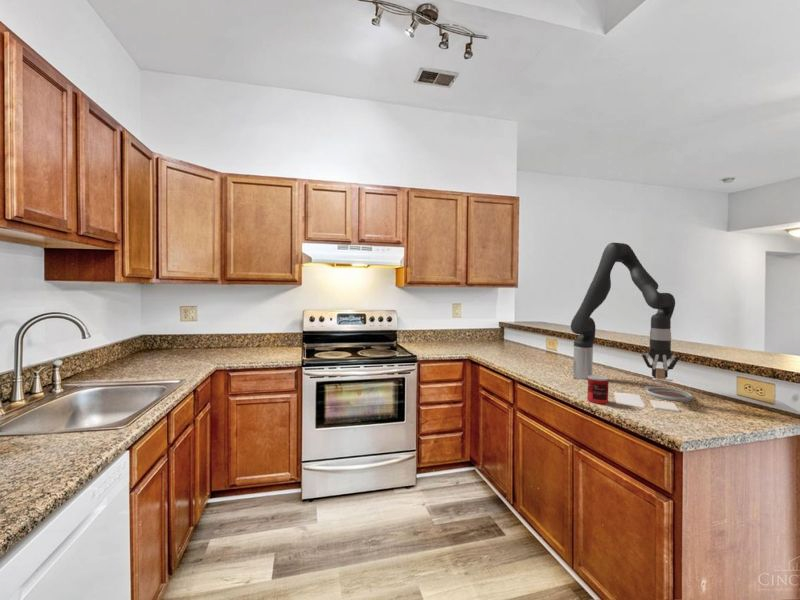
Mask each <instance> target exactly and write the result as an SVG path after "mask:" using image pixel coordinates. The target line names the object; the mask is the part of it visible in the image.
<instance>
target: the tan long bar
mask: <svg viewBox="0 0 800 600" xmlns="http://www.w3.org/2000/svg"><path fill="white" fill-rule="evenodd" d="M651 380H655V381H664V382H674V380H673V379H670V378H669V379H668V378H666V379H665V369H664V368H662V367H660V368H658V367H656V378H654V376H652V379H651Z"/></svg>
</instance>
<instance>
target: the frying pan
mask: <svg viewBox="0 0 800 600" xmlns="http://www.w3.org/2000/svg"><path fill="white" fill-rule="evenodd" d="M637 385H638V386H639V387H638V388H639V389H641V388H645V392H646V393H647V395H649V396H650V397H654V398H656V399H661V400H664V401H665V400H666V401H669V402H670V401H671V402H672V401H673V402H682V403H688V402H689V401H690V402H691V401H692V399H693V398H694V396H693V394H691V393H690V392H688V391H685V390H680V389H676V388H669V387H663V386H662V387H660V386H659V387H658V386H651V385H644V384H642V383H641V382H639V383H638V384H637Z"/></svg>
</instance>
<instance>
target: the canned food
mask: <svg viewBox="0 0 800 600" xmlns="http://www.w3.org/2000/svg"><path fill="white" fill-rule="evenodd" d="M587 401H588V402H590V403H592V404H595V405H607V404H608V403H609V378H608V376H604V375H599V374H592V375H589V376H588V380H587Z"/></svg>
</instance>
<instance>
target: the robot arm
mask: <svg viewBox="0 0 800 600" xmlns="http://www.w3.org/2000/svg"><path fill="white" fill-rule="evenodd" d="M616 263H621V264H622V265H624V266H625V267H626V269H627V270H628V271H629V274H630V278H631V280H632V282H633V284H634V285H635V286H636V287H637V288H638V290H639V291H640V293H641V294H642V297H643V299H644V300H645V303H646V304H647V305H648V306H649V307H650V308H651V309H654V310H657V311H656V313H655V314H653V315H652V316H651V317H650V331H649V350H648V351H647V352H646V353H642V354H641V357H642V359H643V361H644V363H645V365H646V367H648V368H649V369H651V376H652V377H653V376H654V378H656V368H657V365H658V363H662V367H663V368H662V369H665V379H668V374H669V373H668V371H669V370H673V369H674V368H675V366H676V365H677V362H678V361H680V357H679V356H677V355H674V354H673V353H672V331H671V327H672V326H671V319H672V316H673V314H674V311H675V309H676V308H675V307H676V299H675V297H674V295H673V294H672V293H670V292H659V290H658V289H659V284H658V282H657V281H656V280H655V279H654V278H653V277H652V275H651V274H650V273H649V272H648V271H647V270H646V268H644V266H643V264H642V263H641V261H640V260H639V259H638V257H637V255H636V254H635V252H634V250H633V249H632V247H631V246H630V245H629V244H626V243H624V242H623V243H621V242H611V243H608V244H607V245H606V246H605V248H604V250H603V252H602V255H601V258H600V261H599V264H598V267H597V269H596V272H595V273H594V277H593V278H592V281H591V283H590V285H589V287H588V289H587V292H586V293H585V295H584V298H583V300H582V302H581V304H580V306H579V308H578V310H577V312H576V313H575V315H574V316H573V318H572V319H571V323H570V330H571V332H572V333H573V334H576V335H578V337H577V338H576V339H575V340H574V341H573V367H572V369H573V374H572V377H573V378H572V379H577V380H584V381H588V376H589V375H593V372H594V371H593V370H594V369H593V367H594V366H593V363H594V362H593V361H594V360H593V359H594V357H593V354H594V351H593V350H594V343H595V339H596V322H595V320H594V319H593V318H592V317H591V316H592V314H593V312H594V311H596V309H598V308H599V307H600V306H601V305H602V304H603V303H604V301H606V299H607V297H608V294H609V293H610V291H611V287H612V282H611V281H612V280H611V273H612V270H613V269H614V266H615V264H616ZM649 358H651V359H652V363H651V364H650V361H649V360H648V359H649ZM670 358H671V362H670V363H669V365H668V360H669V359H670Z"/></svg>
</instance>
